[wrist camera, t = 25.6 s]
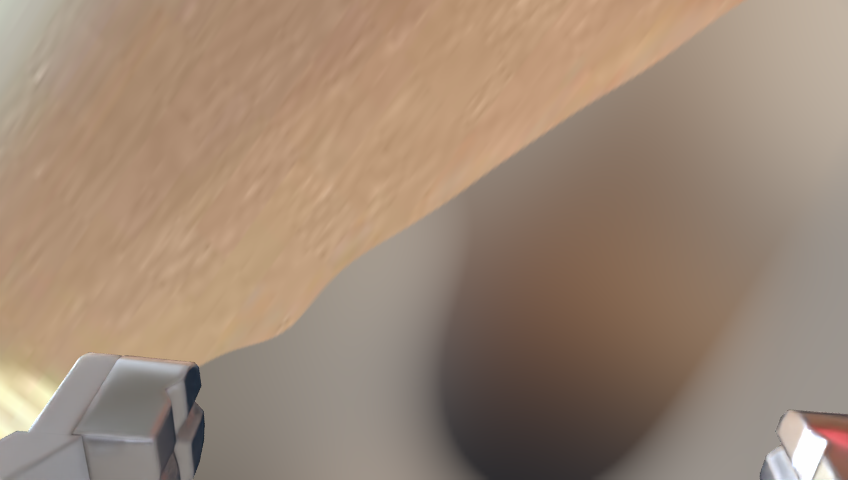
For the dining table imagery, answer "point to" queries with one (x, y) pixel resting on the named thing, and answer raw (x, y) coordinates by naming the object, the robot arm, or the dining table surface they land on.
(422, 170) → the dining table surface
